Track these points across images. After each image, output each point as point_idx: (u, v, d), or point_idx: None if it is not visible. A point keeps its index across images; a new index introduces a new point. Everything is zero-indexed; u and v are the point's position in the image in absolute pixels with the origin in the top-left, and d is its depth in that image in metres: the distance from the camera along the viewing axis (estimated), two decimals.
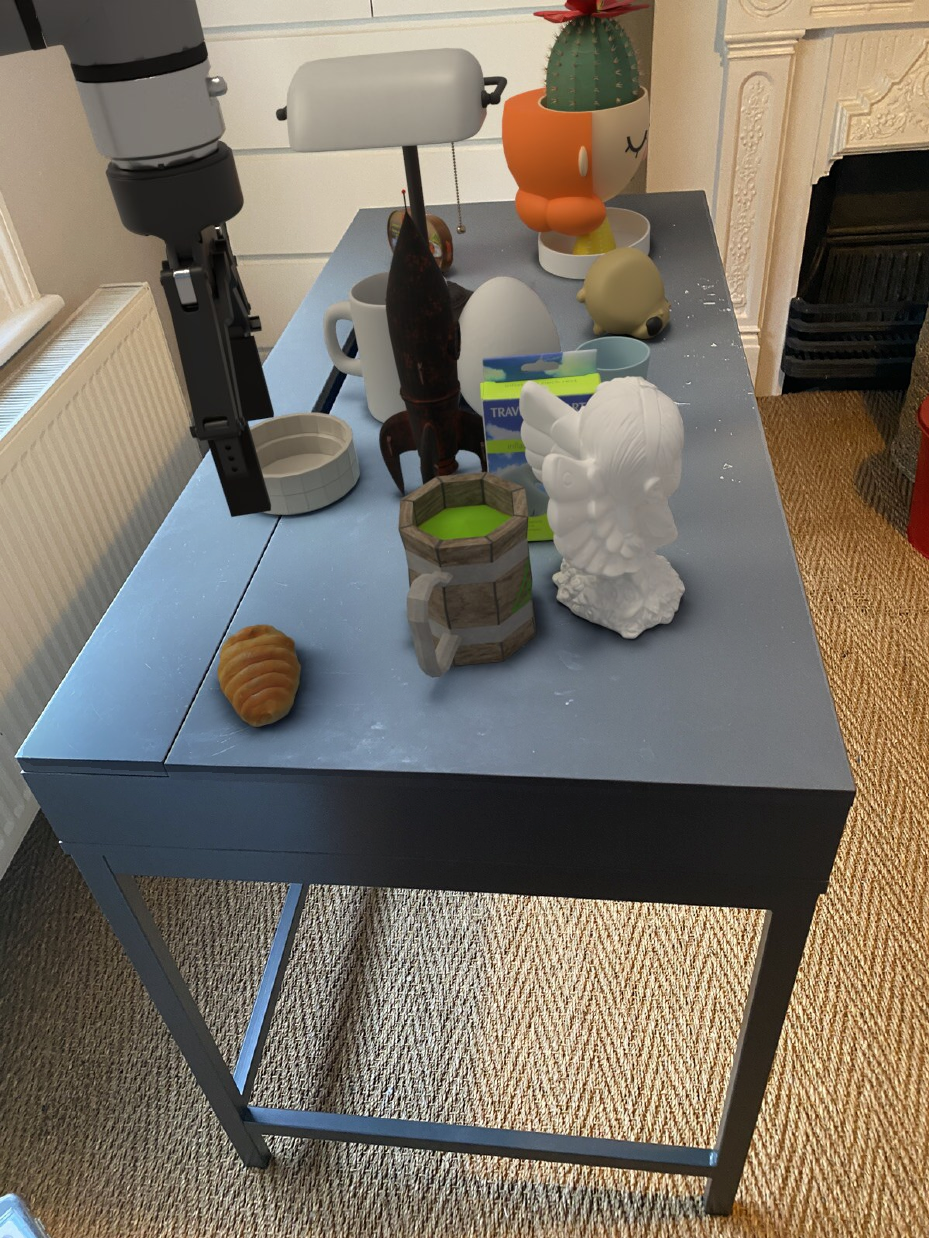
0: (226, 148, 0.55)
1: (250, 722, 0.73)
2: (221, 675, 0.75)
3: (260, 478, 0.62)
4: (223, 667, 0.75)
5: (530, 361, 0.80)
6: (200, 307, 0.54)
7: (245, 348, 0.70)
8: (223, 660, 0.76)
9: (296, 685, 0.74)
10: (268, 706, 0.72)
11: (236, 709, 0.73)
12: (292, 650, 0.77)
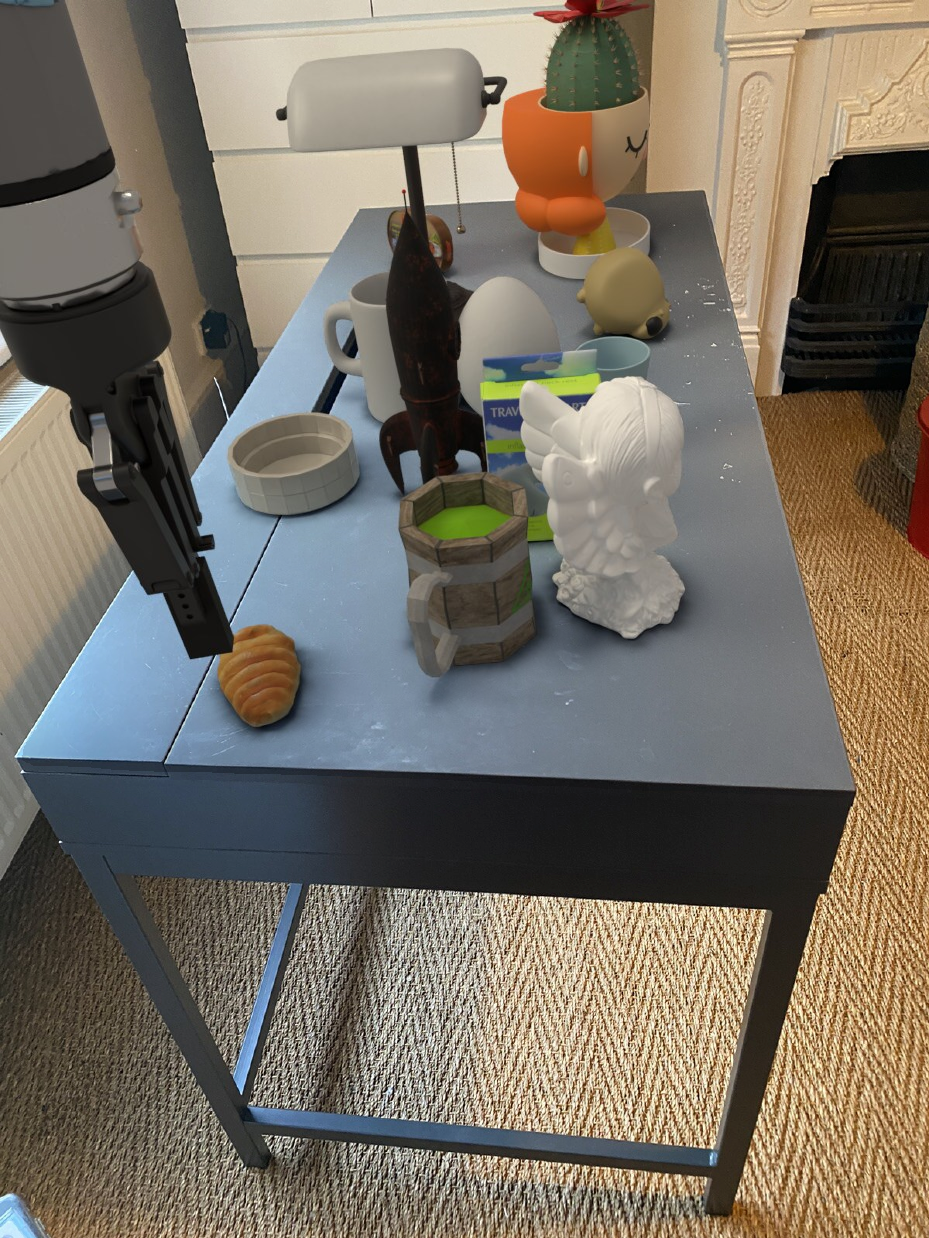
0: (145, 275, 0.44)
1: (250, 722, 0.73)
2: (221, 675, 0.75)
3: (219, 621, 0.57)
4: (223, 667, 0.75)
5: (530, 361, 0.80)
6: (132, 501, 0.45)
7: None
8: (222, 660, 0.76)
9: (296, 685, 0.74)
10: (268, 706, 0.72)
11: (236, 709, 0.73)
12: (292, 650, 0.77)
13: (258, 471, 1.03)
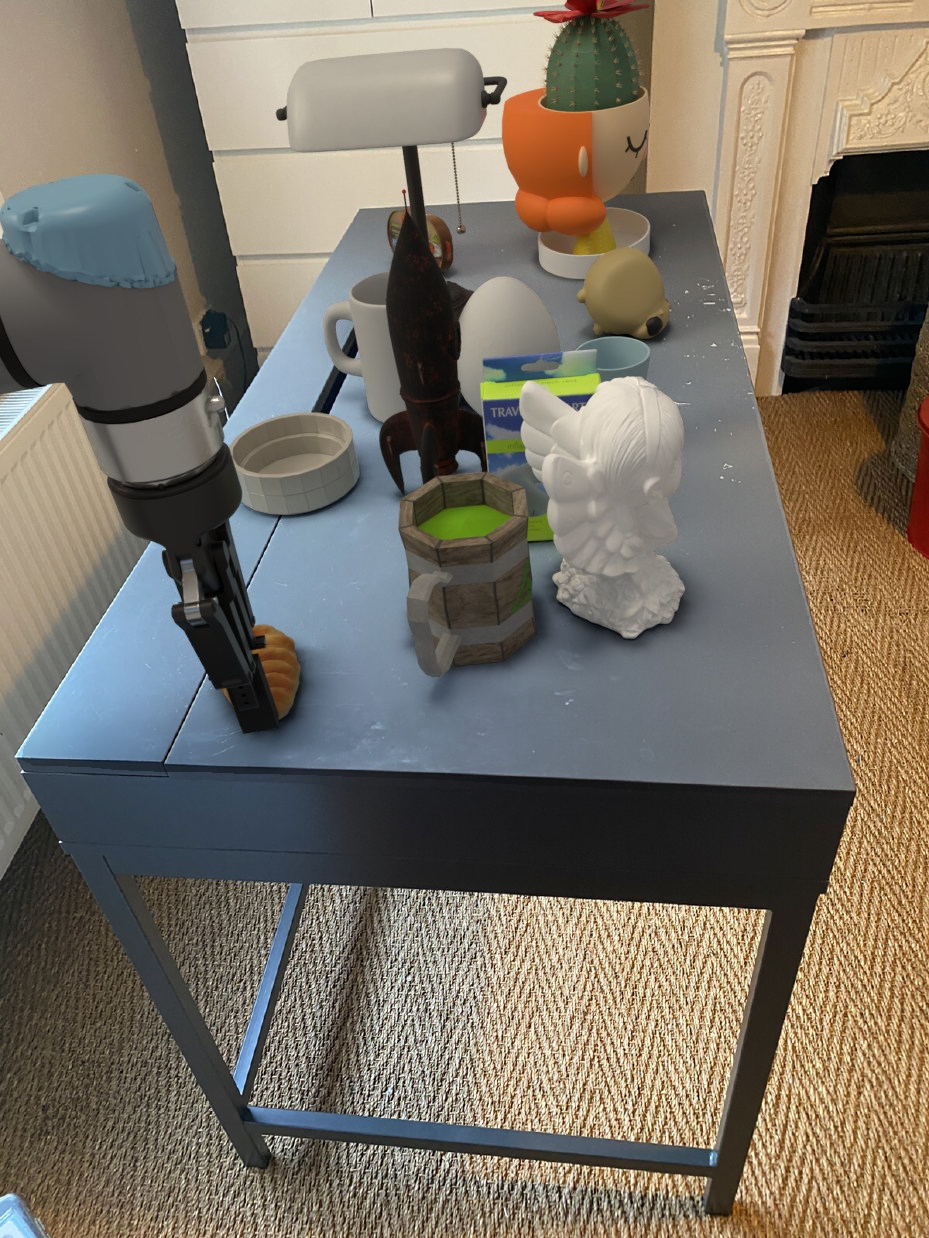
0: (225, 454, 0.56)
1: None
2: None
3: (269, 704, 0.69)
4: None
5: (530, 361, 0.80)
6: (211, 625, 0.58)
7: None
8: None
9: (296, 685, 0.74)
10: None
11: None
12: (292, 650, 0.77)
13: (258, 471, 1.03)
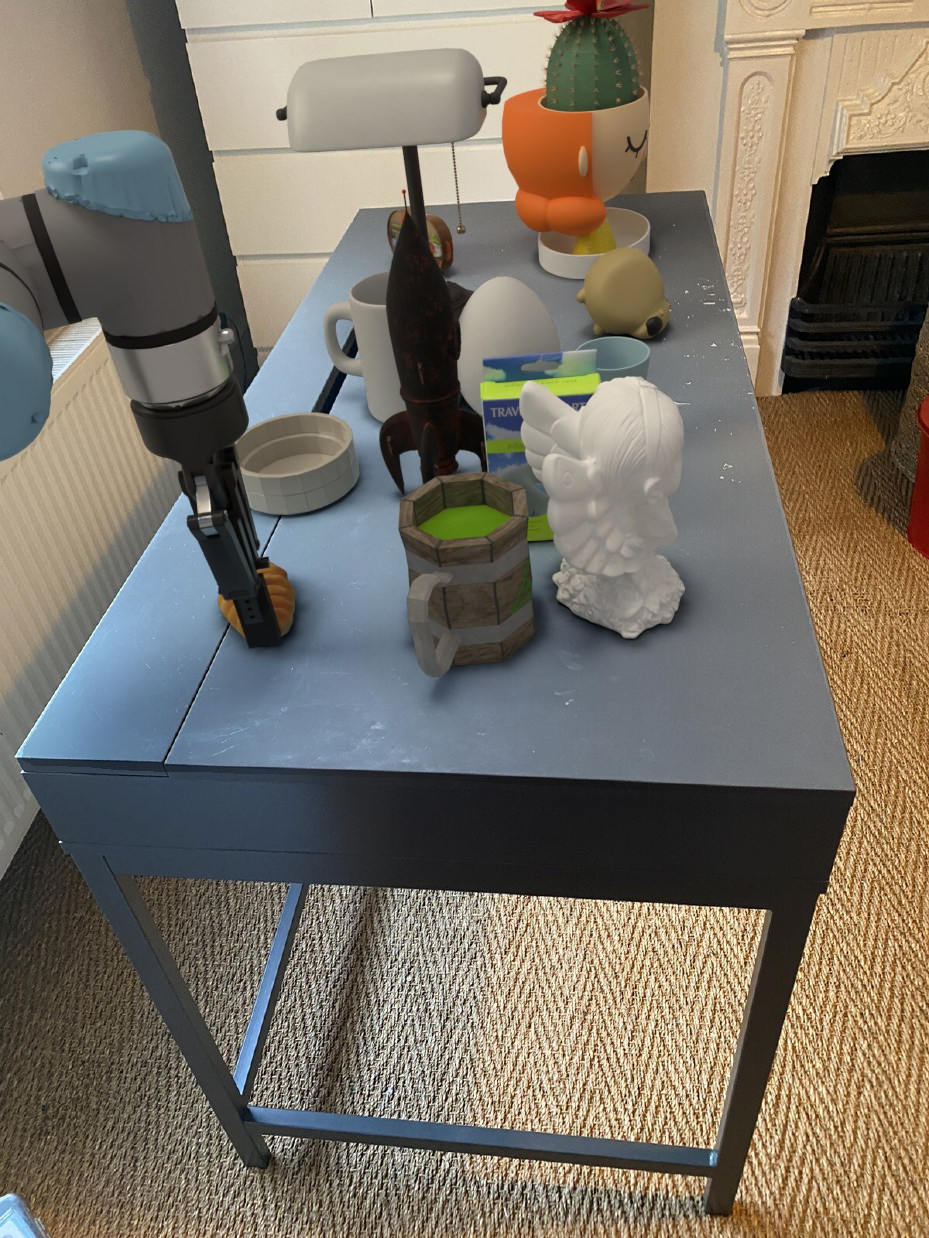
0: (234, 382, 0.64)
1: None
2: (223, 603, 0.82)
3: (272, 620, 0.77)
4: None
5: (530, 361, 0.80)
6: (221, 536, 0.66)
7: None
8: None
9: (293, 606, 0.82)
10: None
11: (241, 631, 0.81)
12: (286, 578, 0.84)
13: (258, 471, 1.03)
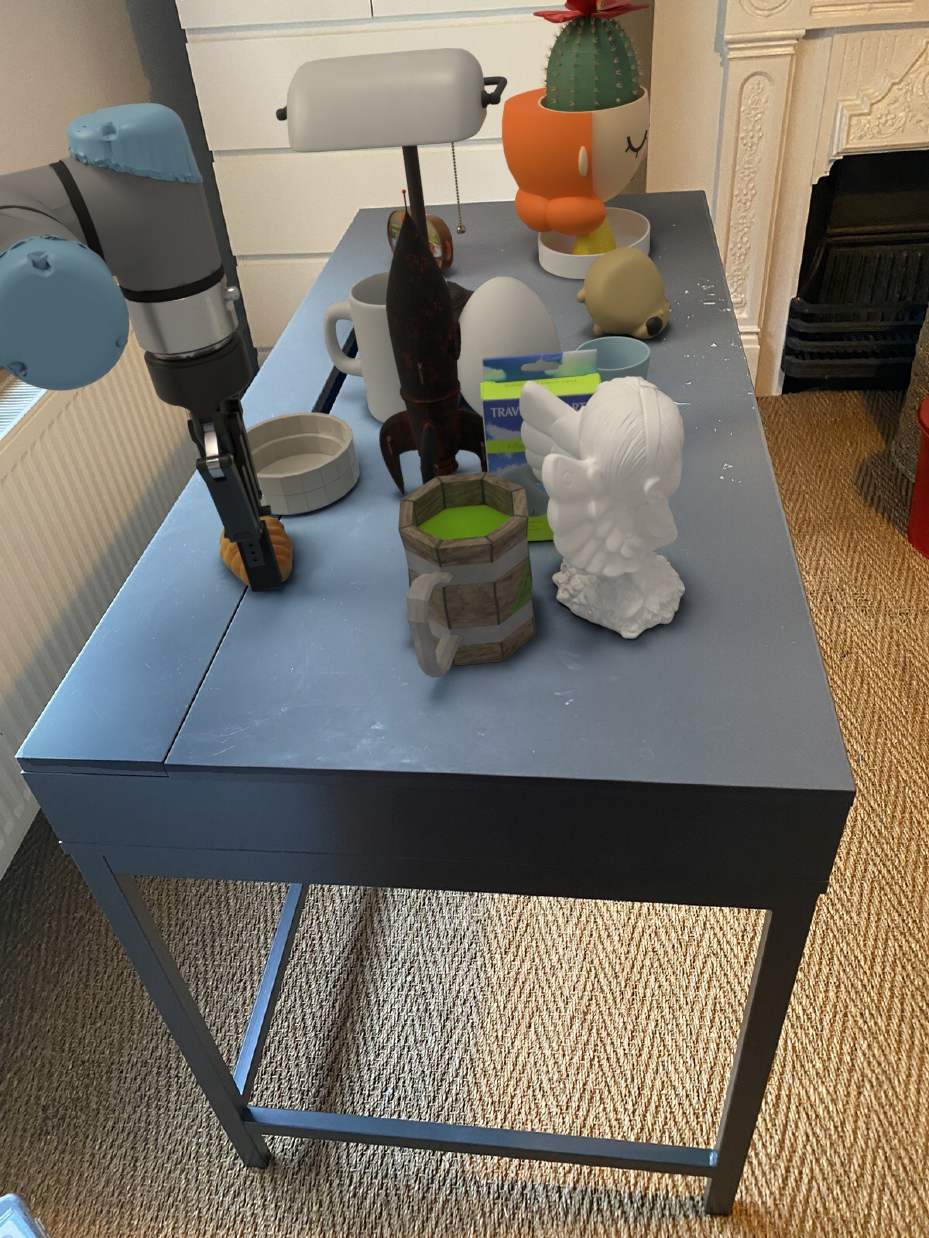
0: (239, 337, 0.70)
1: None
2: (226, 553, 0.88)
3: (274, 564, 0.83)
4: (226, 547, 0.88)
5: (530, 361, 0.80)
6: (228, 478, 0.72)
7: None
8: (225, 542, 0.89)
9: (292, 554, 0.88)
10: None
11: (244, 578, 0.87)
12: (283, 530, 0.90)
13: (258, 471, 1.03)
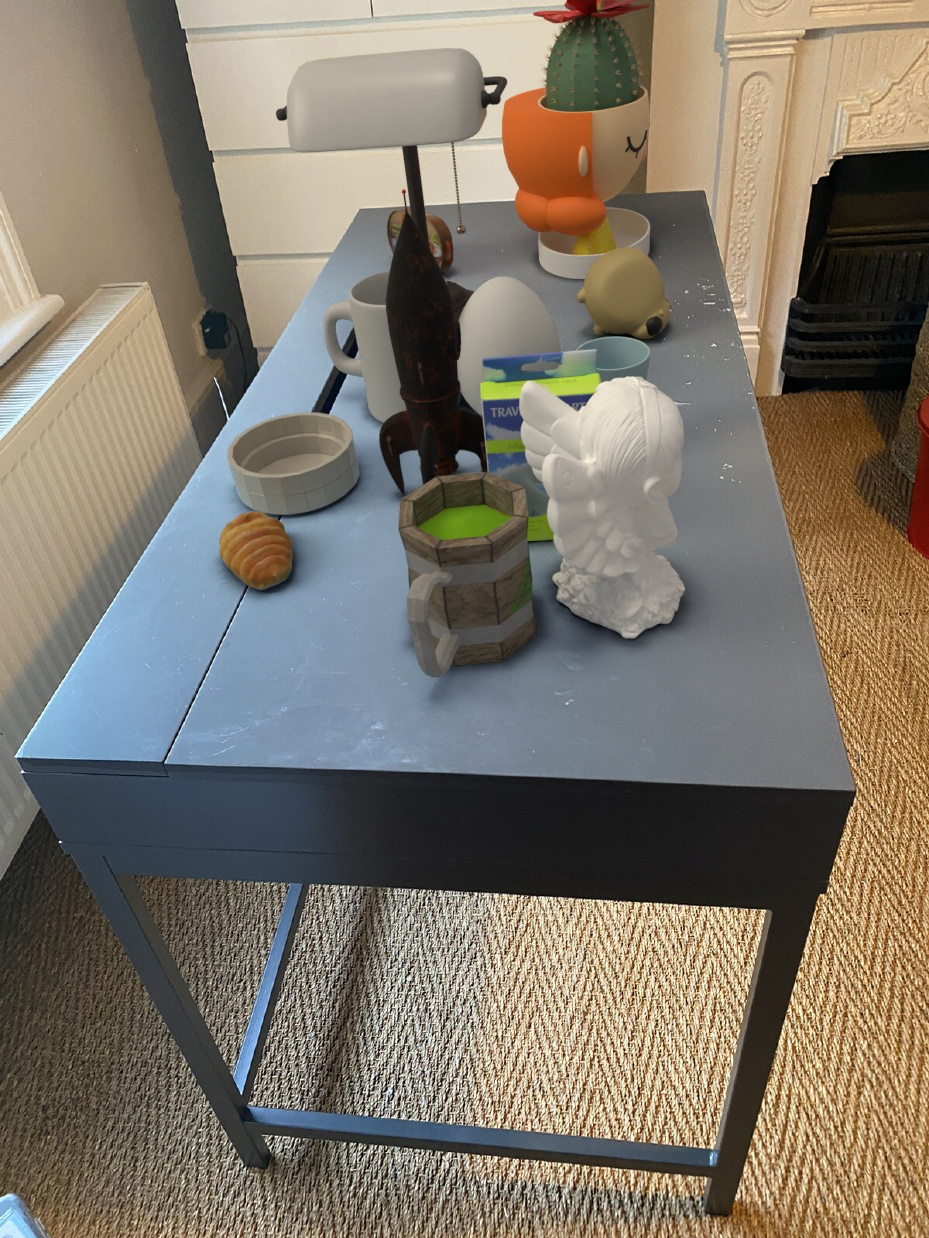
0: None
1: (257, 586, 0.86)
2: (226, 553, 0.88)
3: None
4: (226, 547, 0.88)
5: (530, 361, 0.80)
6: None
7: None
8: (225, 542, 0.89)
9: (292, 554, 0.88)
10: (272, 570, 0.86)
11: (243, 578, 0.87)
12: (283, 530, 0.90)
13: (258, 471, 1.03)
